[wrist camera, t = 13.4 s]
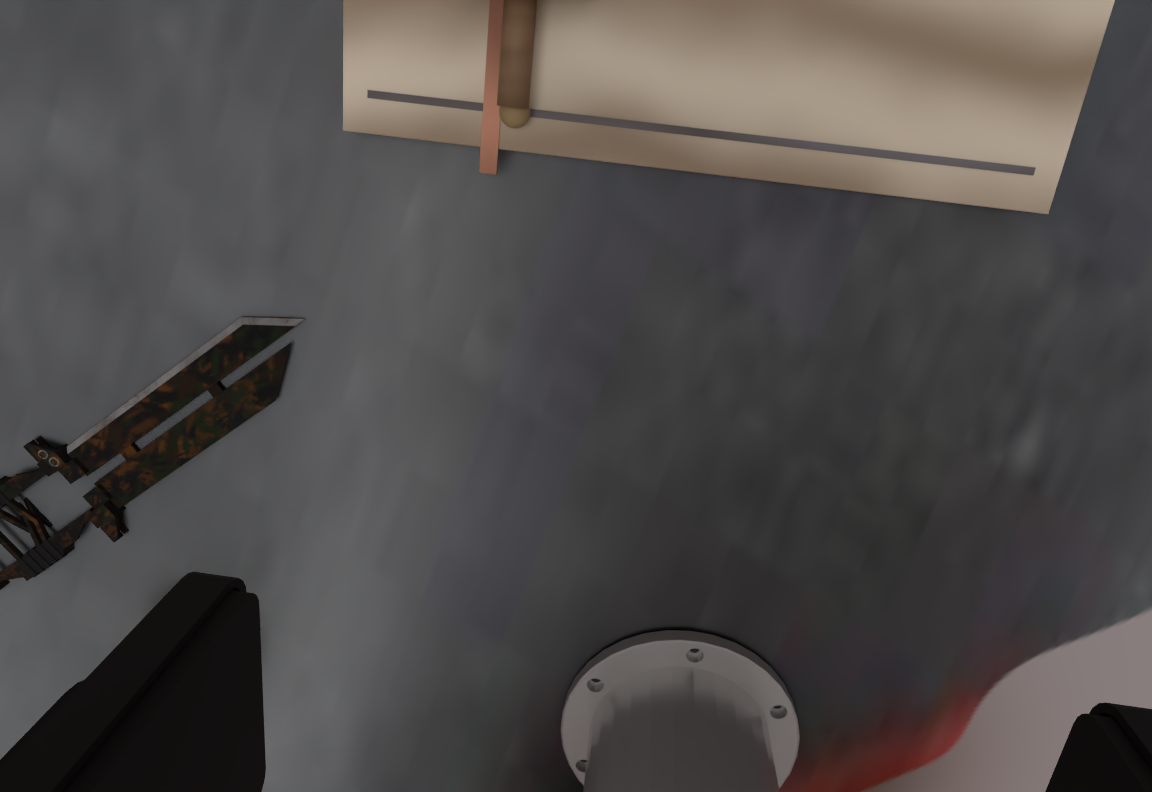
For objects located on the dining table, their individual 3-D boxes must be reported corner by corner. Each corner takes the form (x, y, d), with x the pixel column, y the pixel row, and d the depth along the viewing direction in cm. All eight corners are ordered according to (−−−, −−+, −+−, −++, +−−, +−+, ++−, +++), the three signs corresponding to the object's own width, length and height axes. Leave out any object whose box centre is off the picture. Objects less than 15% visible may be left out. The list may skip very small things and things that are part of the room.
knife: (290, 288, 38) (277, 295, 37) (367, 403, 40) (357, 413, 39) (-76, 504, 44) (-98, 516, 43) (4, 595, 46) (-15, 610, 45)
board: (1018, 231, 34) (1069, 251, 30) (359, 152, 35) (320, 160, 31) (1127, -131, 29) (1205, -167, 25) (363, -208, 31) (318, -253, 27)
